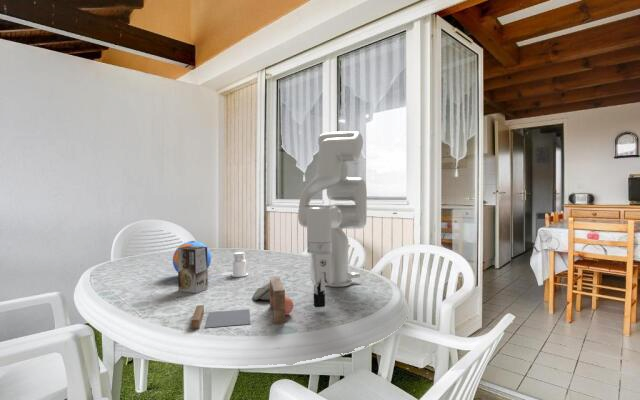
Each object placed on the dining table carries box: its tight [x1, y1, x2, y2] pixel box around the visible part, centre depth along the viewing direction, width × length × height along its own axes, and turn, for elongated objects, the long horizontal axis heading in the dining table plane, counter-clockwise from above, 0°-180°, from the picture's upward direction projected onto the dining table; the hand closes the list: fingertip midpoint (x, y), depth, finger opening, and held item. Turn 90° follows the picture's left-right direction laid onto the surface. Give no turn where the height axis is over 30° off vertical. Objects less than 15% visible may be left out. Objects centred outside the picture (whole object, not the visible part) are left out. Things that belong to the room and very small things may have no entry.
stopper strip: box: [190, 304, 205, 330], centre depth 98 cm, size 2×12×2 cm, turn 13°
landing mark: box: [204, 308, 251, 329], centre depth 100 cm, size 12×12×1 cm
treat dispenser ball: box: [172, 240, 212, 273], centre depth 149 cm, size 16×15×15 cm
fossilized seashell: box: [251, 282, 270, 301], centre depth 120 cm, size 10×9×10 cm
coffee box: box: [177, 246, 209, 294], centre depth 129 cm, size 9×6×16 cm
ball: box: [285, 295, 294, 316], centre depth 103 cm, size 6×6×6 cm
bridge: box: [269, 277, 286, 325], centre depth 103 cm, size 3×15×9 cm, turn 13°
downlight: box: [231, 251, 249, 278], centre depth 151 cm, size 8×7×10 cm
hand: (319, 306), depth 106 cm, fingers closed
